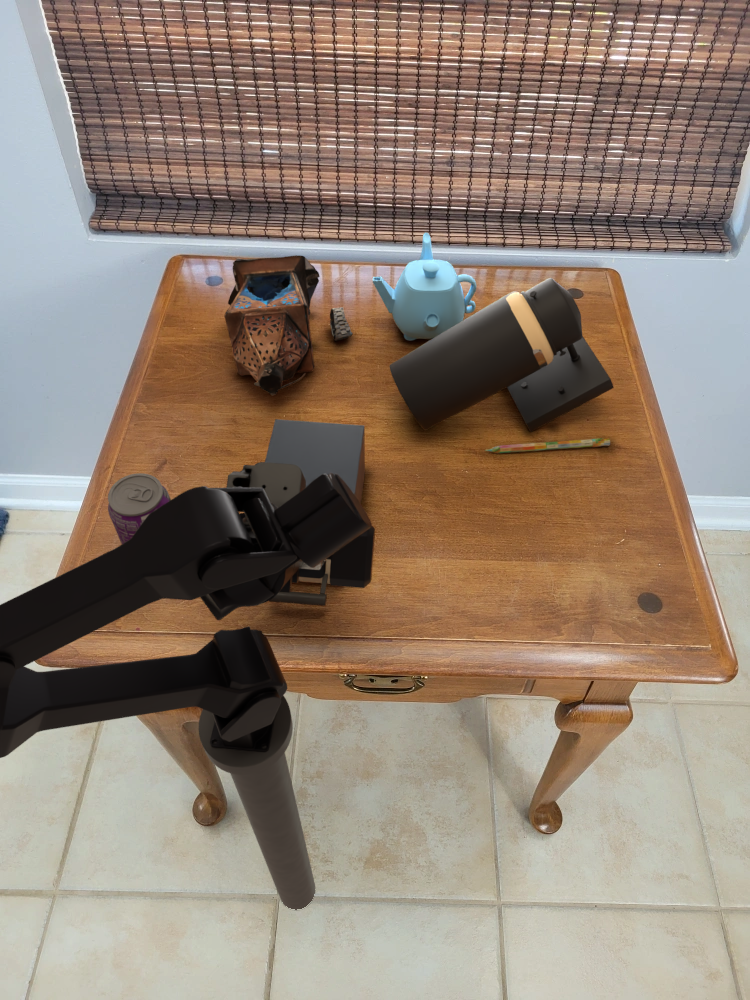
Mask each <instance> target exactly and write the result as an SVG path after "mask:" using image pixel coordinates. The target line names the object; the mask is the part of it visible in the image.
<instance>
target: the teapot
mask: <svg viewBox="0 0 750 1000" xmlns="http://www.w3.org/2000/svg"><path fill="white" fill-rule="evenodd" d="M432 248H433V247H432V239H431V235H430V233H429V232H424V233H423V235H422V247H421V252H420V257H419V259H416V260H412V261H410V262H408V263H407V264H406V266H405V267H404V269H403V270H402V272H401V274H400V276H399V278H398V280H397V282H396V284H395V288H392V286H391V285H390V284H389V283H388V282H387V281H386V280H385V279H384V278H383V276H372V284H373V285H374V287H375V289H376V291H377V293H378V295H379V297H380V298H381V300H382V302H383V304H384V306H385V308H386V310H387V312H388V313H389V314H391V316H392V319H393V321H394V323H395V325H396V327H397V328H398V329H399V331H400V332H401V333H402V334H403V338H404V339H405V340H406V341H410V342H412V341H415V340H417V339H421V340H422V339H424V340H431V339H433V338H434V337H436V336H438V335H439V334H441V333H443V332H444V331H446V330H448V329H449V328H451V327H453V326H454V325H456V324H458V323H459V322H461V321H463V320H464V319H465V314H471V313H474V312H475V310H476V303H475V301H474V300H472V299H473V298H474V295H475V293H476V291H477V281H476V279H475V278H474V277H473V276H471V275H469V274H466V273H465V274H464V273H462V274H457V272H456V270H455V268H454V266H453V265H452V264H451V263H450V262H448V261H446V260H443V259H434V255H433V249H432ZM461 283H469V284H470V288H469V290H468V291H467V294H466V295H465V294H464V289H463V287H462V284H461Z"/></svg>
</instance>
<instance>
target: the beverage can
mask: <svg viewBox="0 0 750 1000" xmlns="http://www.w3.org/2000/svg"><path fill="white" fill-rule="evenodd" d="M170 500H172V498H171V496H170V494H169V491H168V489H167V488H166V487H165V486H164V485H162V483H161V481H160V480H159V479H158V478H157V477H155V476H154V475H152V474H150V473H144V472H143V473H142V472H137V473H130V474H128V475H125V476H123V477H121V478H120V479H118V480H117V481H116V482H115V483H113V485H112V486H111V487H110V489H109V491H108V493H107V503H108V505H107V512H108V515H109V519H110V520H111V522H112V526H113V527H114V529H115V532H116V534H117V537H118V538H119V541H120V543H121V545H122V544H124V543H125V542H127V541H128V540H130V539H131V538H132V537H133V535H134V534H135V532H136V531H137V530H138V528H139V527H140V526H141V524H142V523H143V521H144V520H145V519H146V517H147V516H148V515H149V514H150V513H152V512H153V511H155V510H156V509H158V508H159V507H161V506H162V505H164V504H166V503H167V502H169V501H170Z"/></svg>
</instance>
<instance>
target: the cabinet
mask: <svg viewBox="0 0 750 1000" xmlns="http://www.w3.org/2000/svg"><path fill="white" fill-rule="evenodd" d="M365 433H366V431H365V425H364V424H350V423H335V422H323V421H322V422H321V421H307V420H294V419H281V418H280V419H279V418H275V419H274V422H273V427H272V430H271V435H270V439H269V443H268V446H267V451H266V456H265V460H264V462H270V463H283V464H294V465H297V466H298V467H299V468H300V469H301V471H302V473H303V475H304V477H305V480H306V487H307V486H308V485H309V484H310V483H311V482H312V481H313V480H315V479H316V478H318V477H319V476H320V475H322V474H325V473H326V474H327V475H328V474H329V473H333V474H338V475H339V476H340V477H341V479H342V480H343V481H344V482H345V483H346V484H347V486H348V487H349V488H350V489H351V491H352V492H353V493H354V495H355V496H356V498H357V499H358V501H359V502H360V503H361V504H362V499H363V492H364V483H365V476H366V458H365V457H366V444H365V443H366V442H365V440H366V439H365V436H366V434H365Z"/></svg>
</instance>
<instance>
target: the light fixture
mask: <svg viewBox="0 0 750 1000" xmlns="http://www.w3.org/2000/svg"><path fill="white" fill-rule="evenodd" d="M388 367H389V372H390V374H391V377H392V380H393V381H394V384H395V386H396V388H397V390H398V392H399V394H400V396H401V398H402V401H404V403H405V405H406V407H407V409H408V410H409V411H410V413H411V415H412V417H413V418H414V419H415V421H416V422H417V423H418V425H419V426H420V427H421V428H422V429H423V430H424V431H427V430H429V429H431V428H433V427H435V426H437V425H438V424H440V423H443V422H444V421H446V420H448V419H450V418H452V417H453V416H456V415H458V414H459V413H462V412H464V411H465V410H467V409H469V408H471V407H473V406H475V405H477V404H478V403H481V402H482V401H485V400H486V399H488V398H490V397H492V396H494V395H495V394H497V393H499V392H501V391H503V390H505V389H507V390H508V392H509V395H510V397H511V398H512V400H513V402H514V404H515V405H516V408H517V410H518V411H519V414H520V416H521V417H522V419H523V421H524V424H525V425H526V427H527V428H528V431H529V432H530V433H532V432H534V431H536V430H537V429H539V428H541V427H543V426H545V425H547V424H548V423H549V424H550V423H551V422H552V421H554V420H556V419H558V418H560V417H562V416H564V415H565V414H567V413H570V412H571V411H573V410H575V409H577V408H578V407H580V406H583V405H585V404H586V403H588V402H590V401H593V400H594V399H596V398H597V397H599V396H601V395H603V394H605V393H607V392H609V391H611V390H613V389H614V388H615V387H614V384H613V382H612V378H611V376H610V375H609V374H608V372H607V371H606V369H605V368H604V367H603V365H602V363H601V362H600V360H599V358H598V357H597V355H596V354H595V352H594V351H593V349H592V348H591V347H590V345H589V344H588V342H587V340H586V339H585V337H584V336H583V326H582V314H581V311H580V308H579V306H578V304H577V302H576V300H575V299H574V297H573V295H572V294H571V292H570V291H569V290H568V289H566V288H565V287H564V286H562V285H561V284H560V283H559V282H558V281H556V279H554V278H552V277H548V278H546V279H544V280H543V281H541V282H539V283H538V284H536V285H533V286H532V287H531V288H529V289H527V290H525V291H524V290H522V291H520V292H519V291H516V290H515V291H511V292H509V293H507V294H505V295H503V296H502V297H500V298H499V299H496V300H495V301H493V302H492V303H489V304H488V305H487V306H485V307H482V308H481V309H479V310H478V311H476V312H475V313H473V314H471V315H470V316H468V317H466V318H464V319H463V321H461V322H459V323H458V324H456V325H454V326H453V327H451V328H449V329H448V330H446V331H444V332H443V333H441V334H439V335H438V336H436V337H434V338H433V339H429V340H428V341H426V342H425V343H423V344H421V345H420V346H418V347H416V348H415V349H413V350H412V351H409V352H408V353H407V354H404V355H403V356H402V357H400V358H398V359H397V360H395V361H394V362H392V363H390V364H389V366H388Z"/></svg>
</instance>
